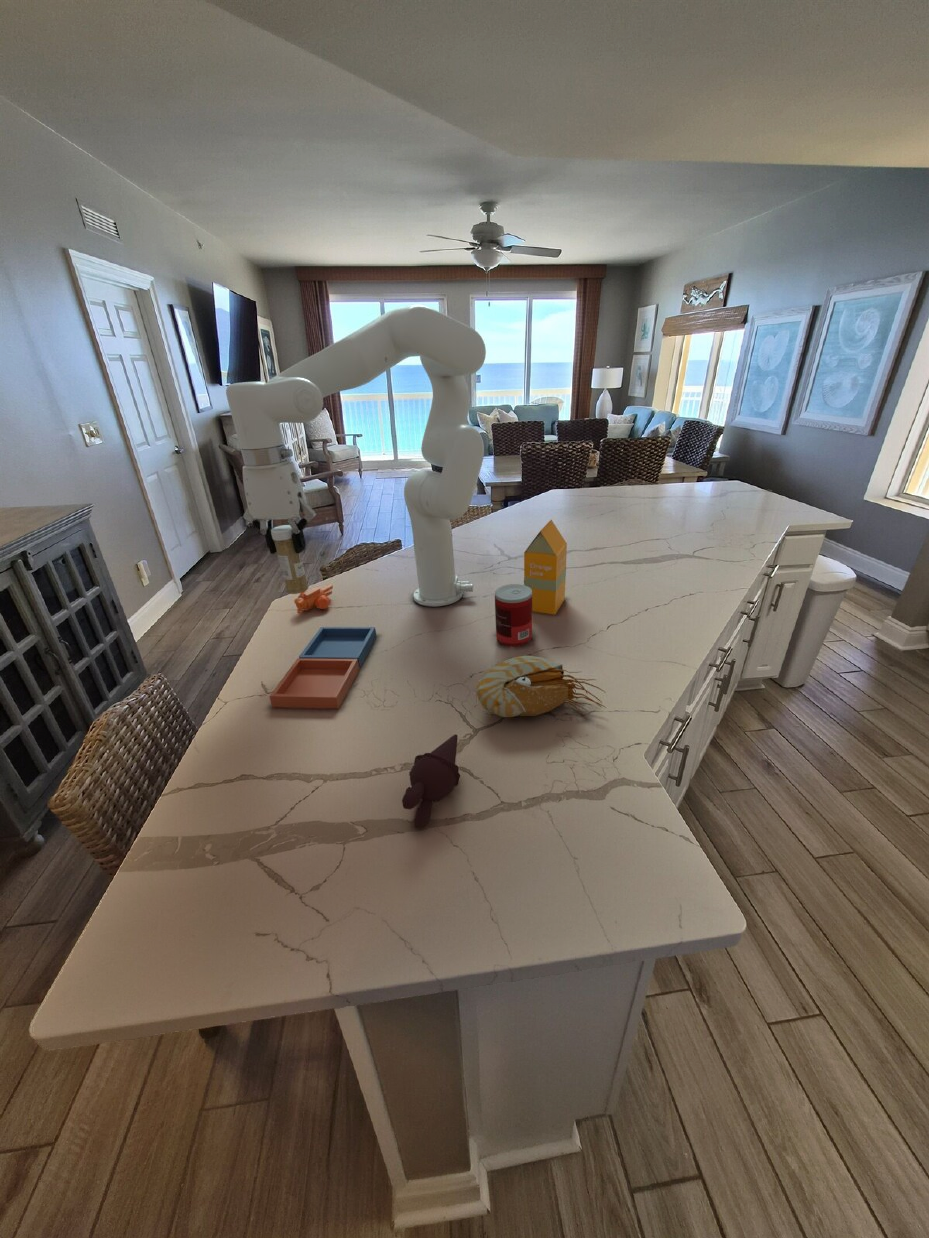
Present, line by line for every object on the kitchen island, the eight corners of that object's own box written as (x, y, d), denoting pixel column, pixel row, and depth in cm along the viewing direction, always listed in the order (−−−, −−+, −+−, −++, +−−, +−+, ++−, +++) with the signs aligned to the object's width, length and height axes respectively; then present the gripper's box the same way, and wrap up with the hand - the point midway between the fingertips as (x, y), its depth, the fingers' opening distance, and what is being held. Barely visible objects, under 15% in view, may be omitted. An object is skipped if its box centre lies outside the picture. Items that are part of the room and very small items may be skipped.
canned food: (535, 630, 109) (535, 585, 104) (527, 649, 102) (527, 601, 97) (501, 627, 111) (500, 582, 106) (491, 645, 105) (490, 598, 99)
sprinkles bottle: (311, 590, 102) (297, 527, 96) (289, 596, 100) (273, 533, 94) (305, 583, 106) (290, 522, 99) (283, 589, 104) (267, 527, 97)
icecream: (427, 717, 75) (377, 796, 64) (470, 717, 71) (424, 801, 60) (443, 750, 78) (397, 832, 67) (484, 752, 74) (444, 839, 63)
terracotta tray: (359, 669, 100) (357, 658, 98) (338, 708, 88) (336, 697, 87) (300, 668, 101) (297, 658, 100) (272, 707, 90) (269, 696, 89)
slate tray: (376, 636, 111) (375, 626, 110) (360, 668, 100) (358, 657, 99) (323, 636, 112) (320, 626, 111) (300, 667, 101) (298, 657, 100)
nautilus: (609, 695, 88) (595, 756, 76) (494, 669, 95) (465, 721, 83) (615, 660, 84) (601, 718, 72) (495, 635, 91) (464, 685, 79)
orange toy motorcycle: (323, 576, 129) (287, 594, 120) (345, 589, 127) (310, 608, 118) (322, 591, 132) (287, 610, 123) (343, 604, 130) (309, 624, 121)
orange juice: (565, 599, 122) (568, 520, 112) (555, 614, 115) (558, 532, 105) (534, 594, 125) (535, 517, 115) (523, 610, 118) (523, 529, 108)
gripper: (317, 451, 92) (335, 544, 101) (233, 455, 95) (258, 545, 103) (300, 459, 86) (321, 557, 94) (210, 462, 88) (239, 558, 97)
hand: (287, 550), depth 99 cm, fingers closed on sprinkles bottle, 4 cm apart
